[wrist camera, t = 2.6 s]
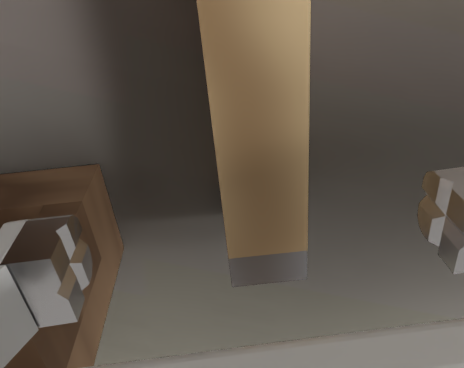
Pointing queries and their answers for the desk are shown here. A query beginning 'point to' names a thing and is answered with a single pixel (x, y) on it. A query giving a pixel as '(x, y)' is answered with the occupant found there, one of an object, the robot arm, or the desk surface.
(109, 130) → the desk surface
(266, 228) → the rail
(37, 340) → the post
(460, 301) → the desk surface
